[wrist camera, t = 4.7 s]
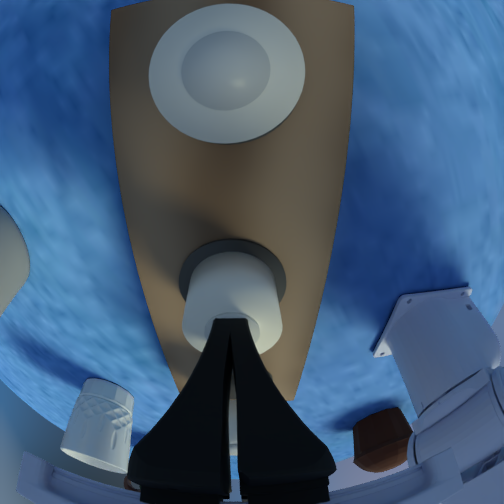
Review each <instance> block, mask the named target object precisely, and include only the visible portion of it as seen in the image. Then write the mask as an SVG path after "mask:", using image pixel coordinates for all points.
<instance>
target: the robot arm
mask: <svg viewBox="0 0 504 504" xmlns="http://www.w3.org/2000/svg"><path fill="white" fill-rule="evenodd" d="M471 292H472V289H471V287H463V288H456V289H448V290H440V291H432V292H424V293H415V294H406V295H402V296H401V297H400V298H399V299H398V301H397V303H396V306H395V308H394V310H393V312H392V315H391V317H390V319H389V321H388V323H387V325H386V327H385V329H384V332H383V334H382V336H381V338H380V340H379V342H378V344H377V345H376V347H375V349H374V351H373V353H372V354H373V356H374V357H382V356H387V355H393V357H394V359H395V362H396V364H397V366H398V369H399V371H400V373H401V376H402V378H403V381H404V383H405V385H406V388H407V390H408V393H409V395H410V398H411V401H412V403H413V406H414V408H415V411H416V414H417V417H418V419H417V420H416V421H414V422H413V423H412V426H413V429H414V432H413V433H412V435H411V436H410V439H409V442H408V449H407V461H408V465H409V468H408V469H405V470H403V471H400V472H397V473H395V474H392V475H389V476H386V477H383V478H380V479H377V480H374V481H370V482H367V483H364V484H360V485H356V486H353V487H349V488H345V489H340V490H336V491H332V492H329V491H328V485H329V479H328V476H330V475H331V474H333V473H334V472H335V471H336V465H335V462H334V459H333V457H332V455H331V453H330V451H329V449H328V447H327V446H326V445H325V444H324V443H323V442H322V441H321V440H320V439H319V438H318V437H317V436H316V435H315V434H314V433H313V432H312V431H311V430H310V429H309V428H308V427H307V426H306V425H305V424H304V423H303V422H302V420H301V419H300V418H299V417H298V415H297V414H296V413H295V412H294V411H293V409H292V408H291V407H290V406H289V404H288V403H287V401H286V400H285V399H284V397H283V396H282V394H281V393H280V391H279V390H278V388H277V387H276V385H275V384H274V382H273V380H272V378H271V377H270V375H269V373H268V371H267V369H266V368H265V366H264V364H263V362H262V360H261V357H260V355H259V353H258V351H257V348H256V346H255V343H254V341H253V338H252V335H251V332H250V328H249V324H248V320H247V319H246V318H215V319H214V320H213V324H212V328H211V331H210V334H209V337H208V339H207V342H206V344H205V347H204V349H203V351H202V354H201V356H200V358H199V360H198V362H197V364H196V366H195V368H194V370H193V372H192V374H191V376H190V377H189V379H188V381H187V382H186V384H185V386H184V387H183V389H182V391H181V392H180V394H179V395H178V397H177V398H176V399H175V401H174V402H173V404H172V405H171V406H170V408H169V409H168V410H167V412H166V413H165V414H164V415H163V417H162V418H161V419H160V420H159V421H158V422H157V424H156V425H155V426H154V427H153V428H152V429H151V430H150V431H149V432H148V433H147V434H146V435H145V436H144V437H143V438H142V439H141V440H140V441H139V442H138V443H137V444H136V445H135V446H134V448H133V451H132V453H131V456H130V459H129V463H128V472H127V478H128V480H130V481H132V482H134V483H136V484H139V485H141V491H140V492H135V491H131V490H126V489H121V488H118V487H114V486H110V485H107V484H103V483H100V482H97V481H93V480H90V479H87V478H84V477H81V476H78V475H76V474H73V473H70V472H68V471H65V470H63V469H60V468H58V467H56V466H53V465H52V464H51V463H49V462H47V461H45V460H43V459H41V458H39V457H37V456H35V455H33V454H31V453H29V452H26V451H24V453H23V458H22V462H21V466H20V471H19V477H18V482H17V489H16V491H17V493H19V494H20V495H22V496H24V497H25V498H27V499H29V500H30V501H32V502H33V503H35V504H439V503H442V504H504V367H501V366H499V364H500V360H501V349H500V343H499V340H498V338H497V336H496V334H495V333H494V331H493V330H492V328H491V327H490V325H489V324H488V322H487V321H486V319H485V318H484V317H483V315H482V314H481V312H480V311H479V310H478V308H477V307H476V306H475V304H474V303H473V302H472V300H471V299H470V298H469V296H470V294H471ZM232 368H233V375H234V384H235V392H236V406H237V457H238V473H239V479H240V495H241V498H242V502H223V499H229V498H230V497H229V493H230V492H232V490H231V471H230V448H229V404H230V392H231V380H232Z"/></svg>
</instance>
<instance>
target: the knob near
mask: <svg viewBox="0 0 504 504" xmlns="http://www.w3.org/2000/svg"><path fill="white" fill-rule="evenodd" d="M304 80H305V62H304V57H303V53H302V51H301V48H300V45H299V43H298V42H297V40H296V38H295V36H294V35H293V34H292V32H291V31H290V30H289V29H288V28H287V27H286V26H285V25H284V24H283V23H282V22H281V21H280V20H278V19H277V18H276V17H274V16H273V15H271V14H269V13H267V12H265V11H263V10H261V9H258V8H255V7H251V6H248V5H242V4H217V5H212V6H207V7H204V8H201V9H198V10H195V11H193V12H191V13H189V14H187V15H186V16H184V17H182V18H181V19H179V20H178V21H177V22H176V23H174V24H173V25H172V26H171V27H170V28H169V29H168V30H167V31H166V32H165V33H164V35H163V36H162V37H161V39H160V40H159V42H158V44H157V46H156V48H155V49H154V52H153V55H152V58H151V61H150V66H149V86H150V91H151V95H152V97H153V100H154V102H155V104H156V106H157V108H158V110H159V111H160V113H161V114H162V115H163V117H164V118H165V119H166V120H167V121H168V122H169V123H170V124H171V125H172V126H174V127H175V128H176V129H178V130H179V131H181V132H182V133H184V134H186V135H188V136H190V137H193V138H195V139H198V140H202V141H205V142H211V143H224V144H227V143H237V142H243V141H247V140H250V139H253V138H256V137H258V136H261V135H263V134H265V133H267V132H268V131H270V130H272V129H273V128H275V127H276V126H277V125H278V124H280V123H281V122H282V121H283V120H284V119H285V118H286V117H287V116H288V115H289V114H290V112H291V111H292V110H293V108H294V107H295V105H296V103H297V102H298V100H299V97H300V95H301V93H302V89H303V85H304Z"/></svg>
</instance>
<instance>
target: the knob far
mask: <svg viewBox="0 0 504 504" xmlns="http://www.w3.org/2000/svg"><path fill="white" fill-rule="evenodd" d="M229 448H230V455H237V406H236V400H230V404H229Z"/></svg>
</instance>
